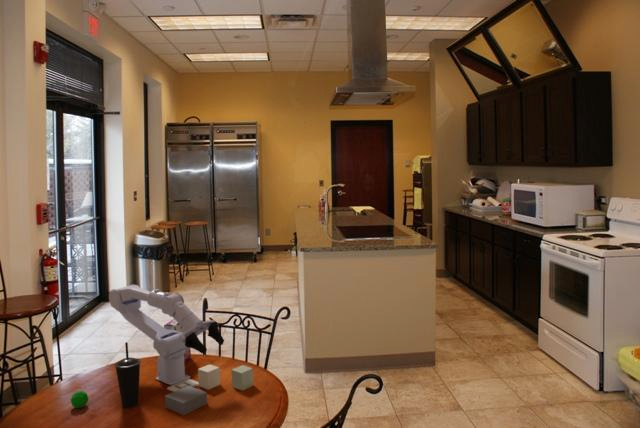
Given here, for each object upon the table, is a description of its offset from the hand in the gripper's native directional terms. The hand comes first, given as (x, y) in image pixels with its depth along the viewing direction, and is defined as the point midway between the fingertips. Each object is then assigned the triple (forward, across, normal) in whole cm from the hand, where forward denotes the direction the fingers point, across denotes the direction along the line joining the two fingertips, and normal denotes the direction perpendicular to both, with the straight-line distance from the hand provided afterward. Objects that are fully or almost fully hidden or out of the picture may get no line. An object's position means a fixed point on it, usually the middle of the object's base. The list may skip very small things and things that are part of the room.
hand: (214, 347), depth 169 cm
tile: (-2, -5, +19) cm, 19 cm away
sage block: (+12, +6, +10) cm, 17 cm away
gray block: (+7, -14, +12) cm, 20 cm away
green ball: (-17, -32, +26) cm, 45 cm away
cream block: (+3, +1, +16) cm, 16 cm away
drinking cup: (-6, -23, +20) cm, 31 cm away
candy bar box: (-18, +9, +31) cm, 36 cm away
